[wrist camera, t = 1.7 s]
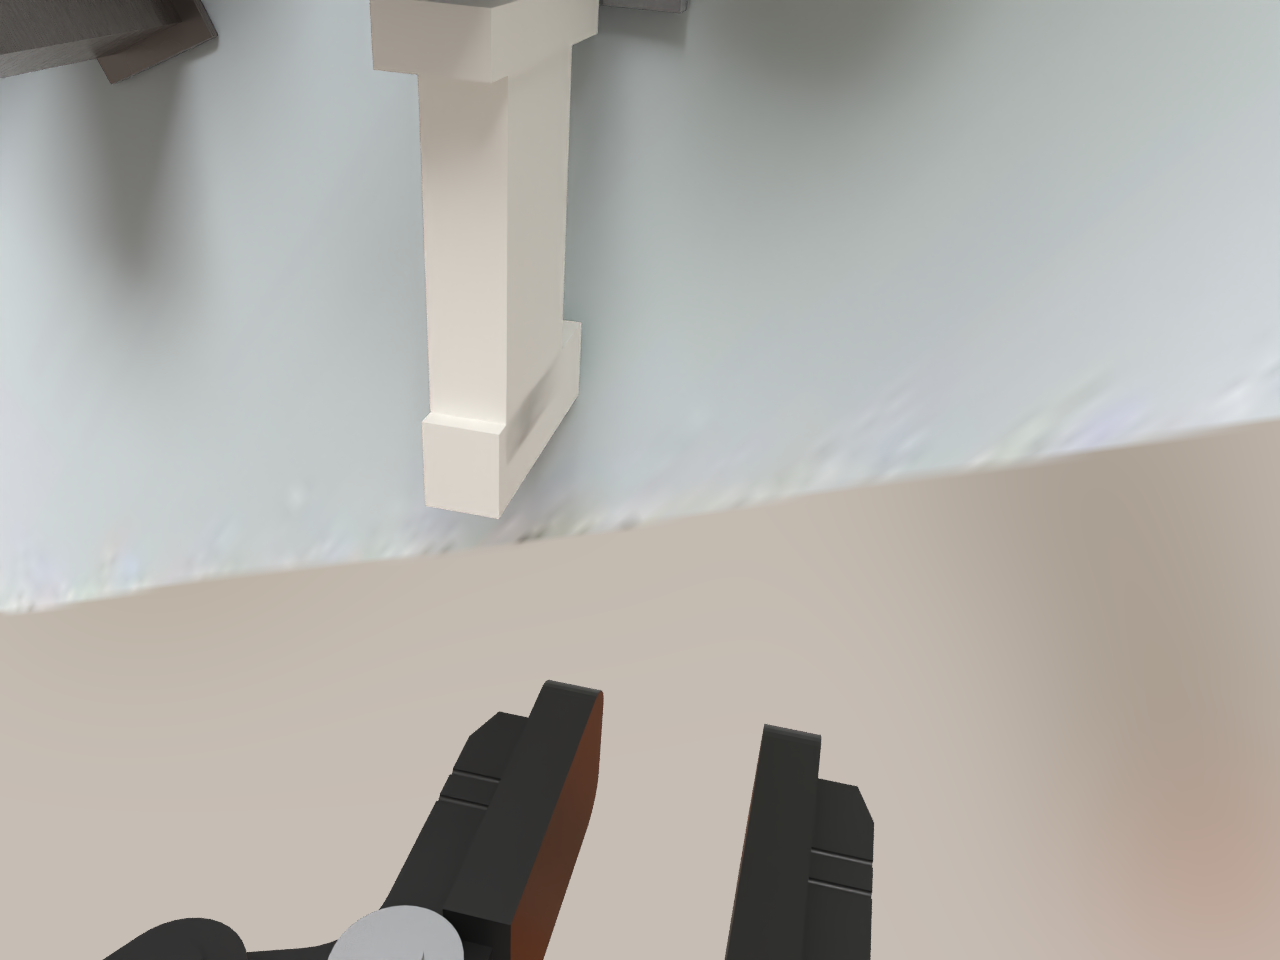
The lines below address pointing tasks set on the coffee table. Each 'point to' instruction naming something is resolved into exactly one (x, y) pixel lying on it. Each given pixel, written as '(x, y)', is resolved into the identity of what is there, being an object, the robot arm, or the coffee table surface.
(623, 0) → the post
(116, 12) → the post
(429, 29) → the gate
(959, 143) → the coffee table surface
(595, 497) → the coffee table surface
